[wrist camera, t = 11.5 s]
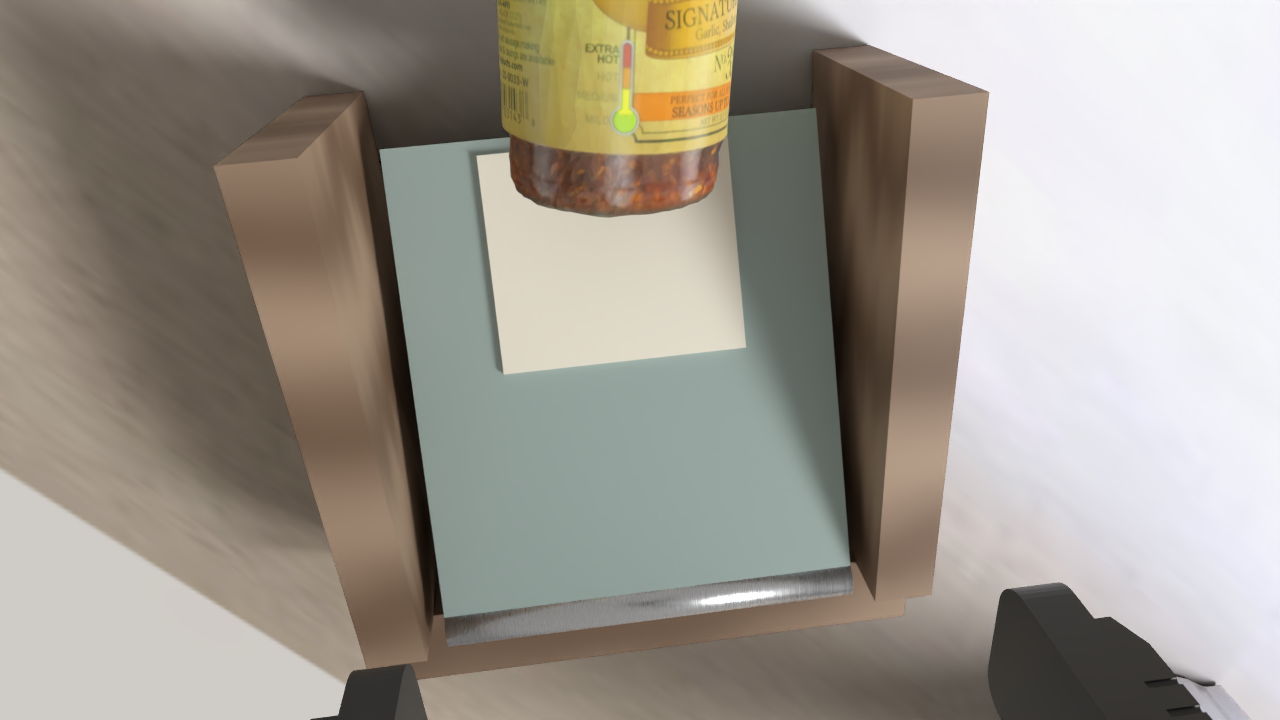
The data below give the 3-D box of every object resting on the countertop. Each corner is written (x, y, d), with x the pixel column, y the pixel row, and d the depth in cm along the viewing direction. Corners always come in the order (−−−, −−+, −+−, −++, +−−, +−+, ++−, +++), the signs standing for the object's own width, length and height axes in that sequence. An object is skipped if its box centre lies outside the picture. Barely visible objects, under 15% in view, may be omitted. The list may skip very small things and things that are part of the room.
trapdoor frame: (846, 505, 39) (924, 655, 31) (417, 558, 38) (385, 727, 30) (869, 45, 30) (989, 91, 22) (303, 97, 29) (213, 165, 21)
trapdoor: (842, 585, 31) (854, 600, 30) (453, 635, 30) (447, 653, 29) (806, 113, 29) (817, 106, 28) (387, 153, 28) (377, 148, 27)
